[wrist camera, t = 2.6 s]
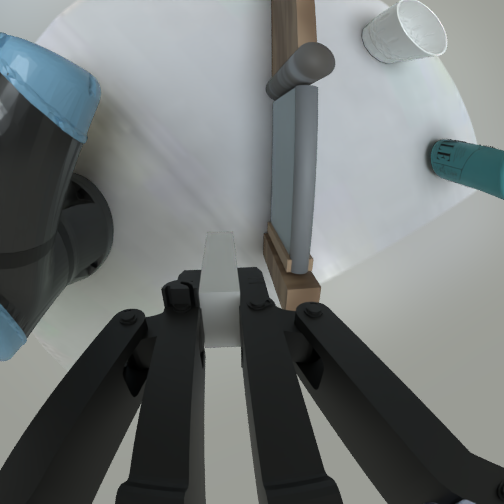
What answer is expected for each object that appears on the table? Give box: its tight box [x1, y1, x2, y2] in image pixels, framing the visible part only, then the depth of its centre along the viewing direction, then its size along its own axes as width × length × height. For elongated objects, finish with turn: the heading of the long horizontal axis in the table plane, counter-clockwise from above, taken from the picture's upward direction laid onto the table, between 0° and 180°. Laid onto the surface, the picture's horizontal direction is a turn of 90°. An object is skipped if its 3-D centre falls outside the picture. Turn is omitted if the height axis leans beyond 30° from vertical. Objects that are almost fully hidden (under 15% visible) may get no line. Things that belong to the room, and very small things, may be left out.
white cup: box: [362, 0, 447, 64], centre depth 21 cm, size 8×8×10 cm
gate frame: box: [263, 0, 335, 311], centre depth 23 cm, size 3×38×14 cm, turn 179°
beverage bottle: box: [431, 139, 504, 200], centre depth 24 cm, size 6×7×20 cm
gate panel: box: [267, 85, 318, 274], centre depth 26 cm, size 16×2×12 cm, turn 0°
